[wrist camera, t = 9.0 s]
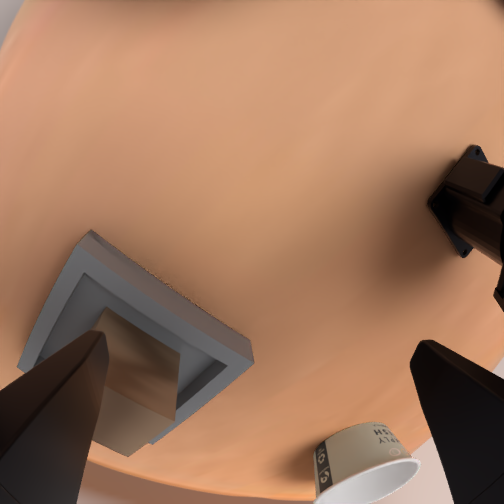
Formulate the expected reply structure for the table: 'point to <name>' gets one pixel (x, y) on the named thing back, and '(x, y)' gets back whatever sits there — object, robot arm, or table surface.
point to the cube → (135, 386)
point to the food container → (361, 465)
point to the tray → (138, 322)
